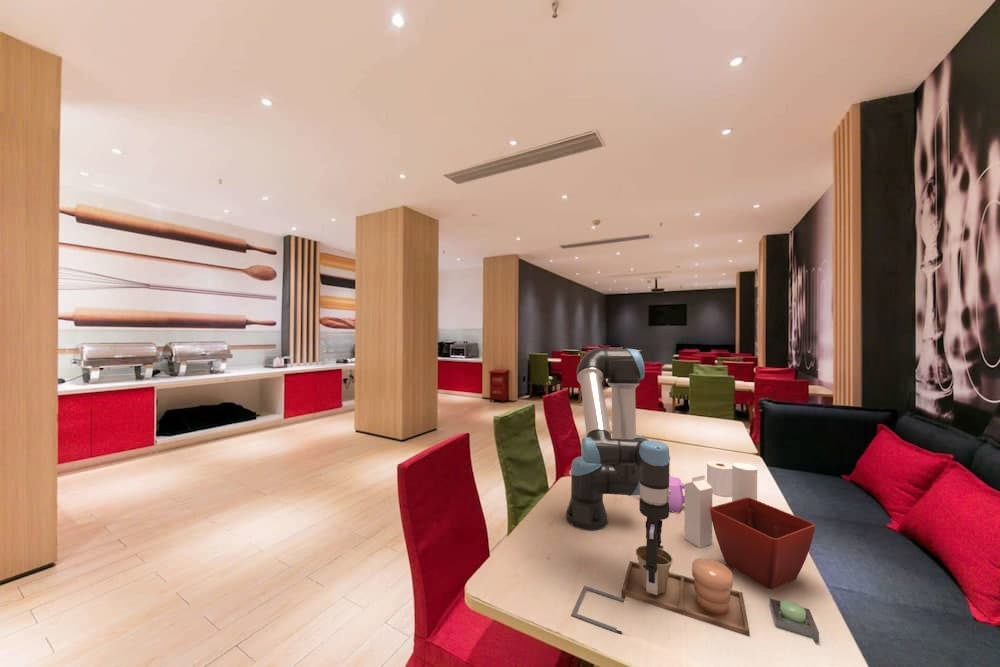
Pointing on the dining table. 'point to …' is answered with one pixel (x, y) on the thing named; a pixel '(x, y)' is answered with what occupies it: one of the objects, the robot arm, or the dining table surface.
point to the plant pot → (762, 540)
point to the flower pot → (662, 565)
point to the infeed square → (574, 614)
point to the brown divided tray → (686, 600)
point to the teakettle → (676, 494)
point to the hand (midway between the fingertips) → (653, 582)
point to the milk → (698, 512)
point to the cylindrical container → (744, 481)
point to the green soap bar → (792, 611)
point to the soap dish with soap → (792, 626)
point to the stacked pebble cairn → (712, 585)
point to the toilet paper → (720, 478)
